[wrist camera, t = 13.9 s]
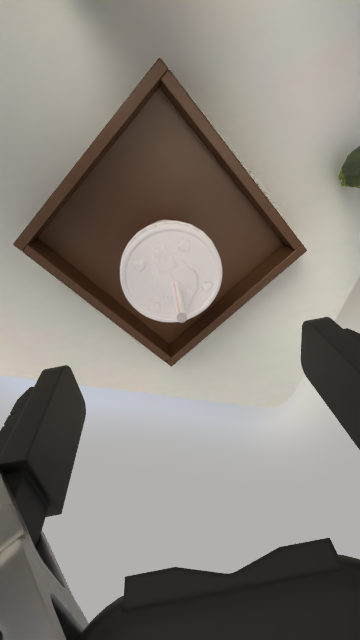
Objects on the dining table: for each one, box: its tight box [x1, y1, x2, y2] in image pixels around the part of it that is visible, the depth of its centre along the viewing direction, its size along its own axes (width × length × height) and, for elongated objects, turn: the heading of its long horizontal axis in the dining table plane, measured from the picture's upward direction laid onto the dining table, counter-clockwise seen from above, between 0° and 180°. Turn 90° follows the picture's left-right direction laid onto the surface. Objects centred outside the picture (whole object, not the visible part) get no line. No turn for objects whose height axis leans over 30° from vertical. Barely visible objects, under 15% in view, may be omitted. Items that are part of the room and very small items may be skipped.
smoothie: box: [120, 220, 222, 323], centre depth 20 cm, size 6×6×14 cm
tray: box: [13, 58, 307, 366], centre depth 26 cm, size 18×17×3 cm
